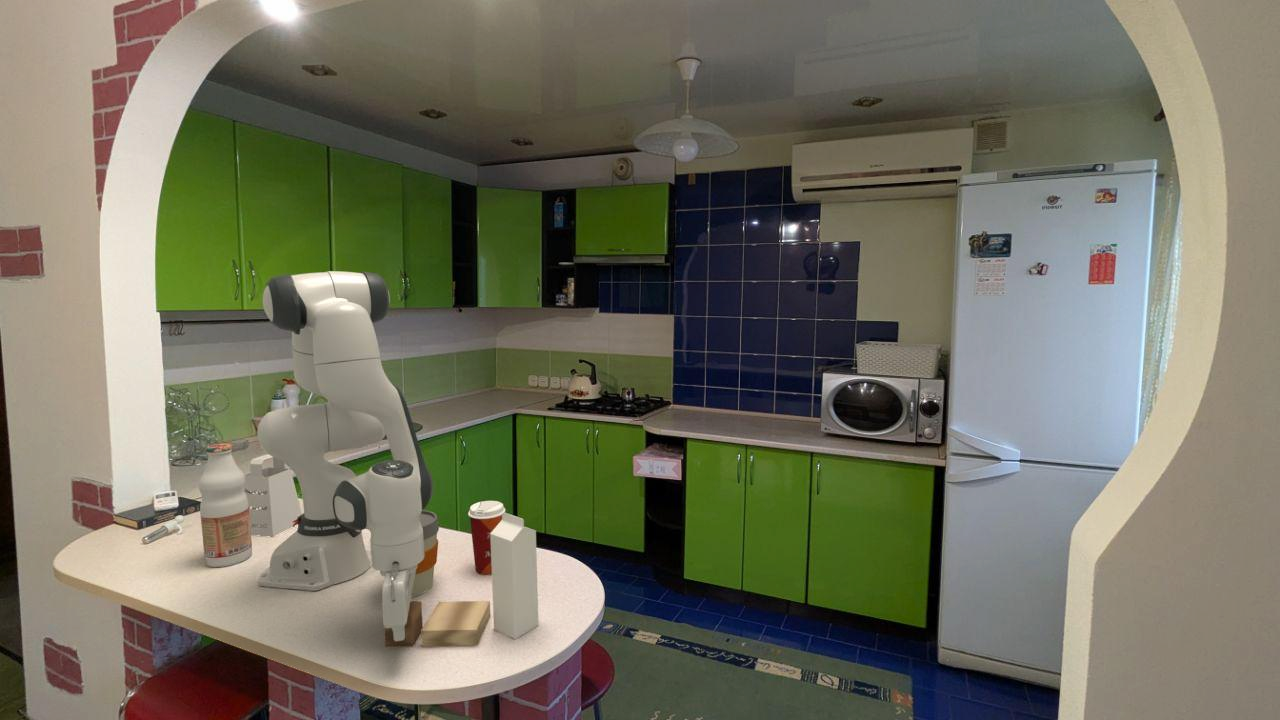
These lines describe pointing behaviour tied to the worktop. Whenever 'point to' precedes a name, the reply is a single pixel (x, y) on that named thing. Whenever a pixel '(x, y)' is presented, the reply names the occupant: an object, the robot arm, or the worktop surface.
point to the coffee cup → (484, 532)
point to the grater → (271, 497)
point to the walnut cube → (407, 628)
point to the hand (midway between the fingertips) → (402, 624)
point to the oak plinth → (456, 624)
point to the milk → (514, 577)
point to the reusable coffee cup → (427, 553)
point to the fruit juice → (224, 509)
